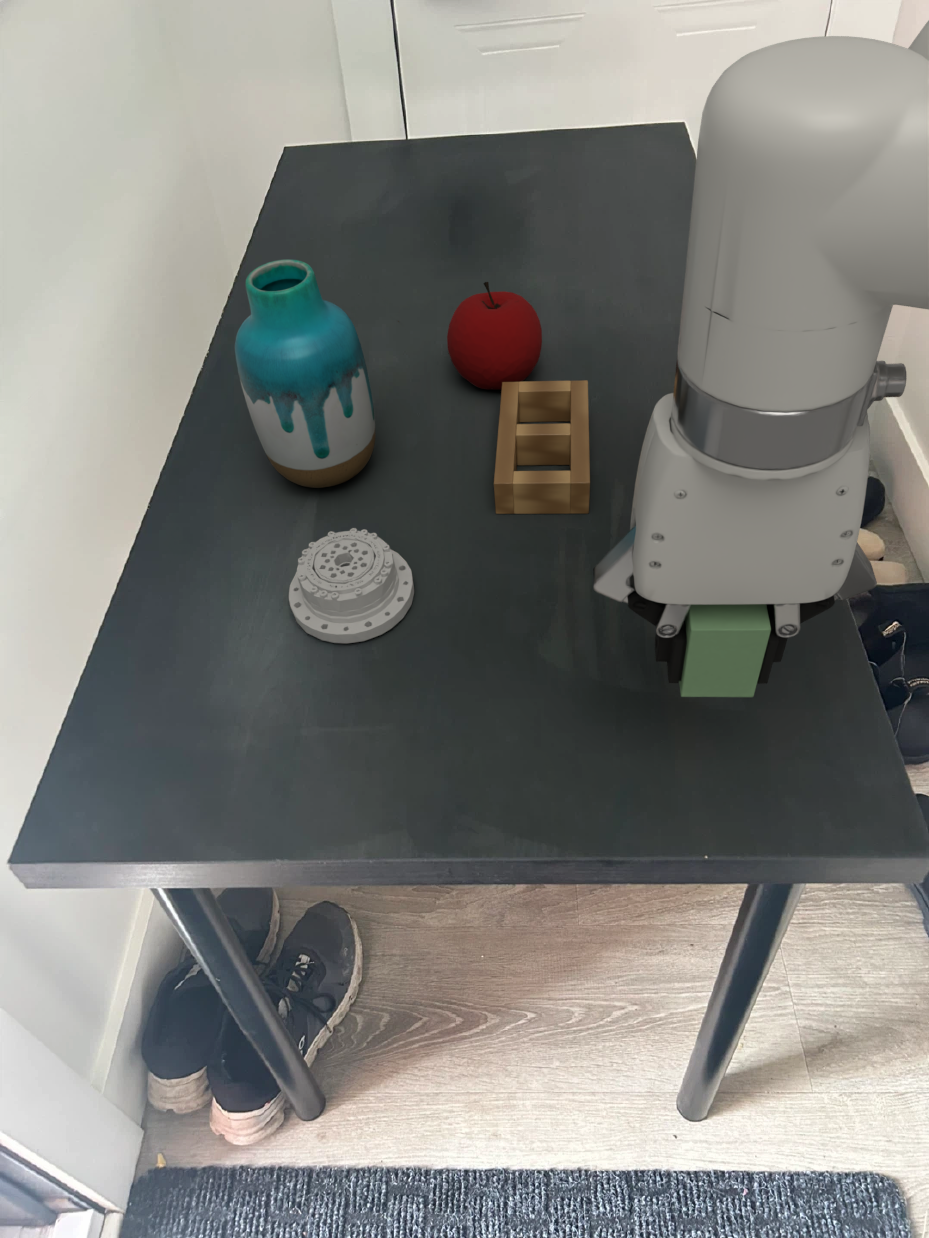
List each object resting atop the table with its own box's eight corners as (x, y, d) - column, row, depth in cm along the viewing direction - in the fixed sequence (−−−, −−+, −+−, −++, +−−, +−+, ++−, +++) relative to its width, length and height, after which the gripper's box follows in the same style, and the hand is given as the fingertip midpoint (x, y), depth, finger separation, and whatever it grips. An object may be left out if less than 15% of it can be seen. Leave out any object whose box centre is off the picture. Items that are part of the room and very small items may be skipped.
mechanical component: (328, 543, 76) (269, 627, 70) (317, 504, 73) (255, 590, 67) (434, 569, 73) (382, 659, 67) (428, 530, 70) (373, 622, 64)
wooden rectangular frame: (586, 411, 85) (587, 380, 82) (588, 513, 76) (590, 482, 73) (503, 412, 86) (502, 381, 83) (495, 514, 77) (493, 483, 74)
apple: (449, 406, 87) (439, 314, 80) (453, 354, 93) (444, 264, 85) (543, 402, 86) (542, 309, 79) (541, 350, 92) (540, 258, 85)
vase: (359, 515, 78) (314, 319, 63) (252, 498, 80) (185, 306, 66) (400, 440, 84) (367, 246, 70) (299, 427, 87) (247, 237, 72)
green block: (744, 642, 52) (760, 572, 47) (753, 697, 49) (771, 629, 45) (675, 642, 52) (684, 572, 48) (680, 697, 50) (690, 629, 45)
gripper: (954, 335, 38) (853, 612, 52) (563, 352, 40) (566, 614, 54) (1010, 447, 33) (883, 719, 47) (562, 459, 35) (566, 717, 49)
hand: (714, 661), depth 50 cm, fingers closed on green block, 4 cm apart
